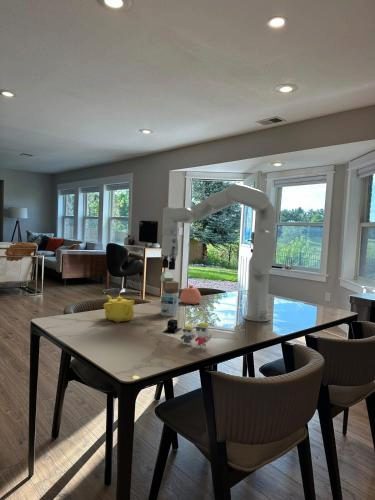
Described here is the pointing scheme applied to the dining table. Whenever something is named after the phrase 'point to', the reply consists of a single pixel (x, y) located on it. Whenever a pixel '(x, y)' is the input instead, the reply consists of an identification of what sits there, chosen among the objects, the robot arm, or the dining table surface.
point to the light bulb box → (169, 304)
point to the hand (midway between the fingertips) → (168, 268)
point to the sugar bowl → (190, 295)
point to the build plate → (172, 327)
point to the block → (170, 286)
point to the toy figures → (201, 332)
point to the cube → (166, 276)
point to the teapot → (119, 309)
